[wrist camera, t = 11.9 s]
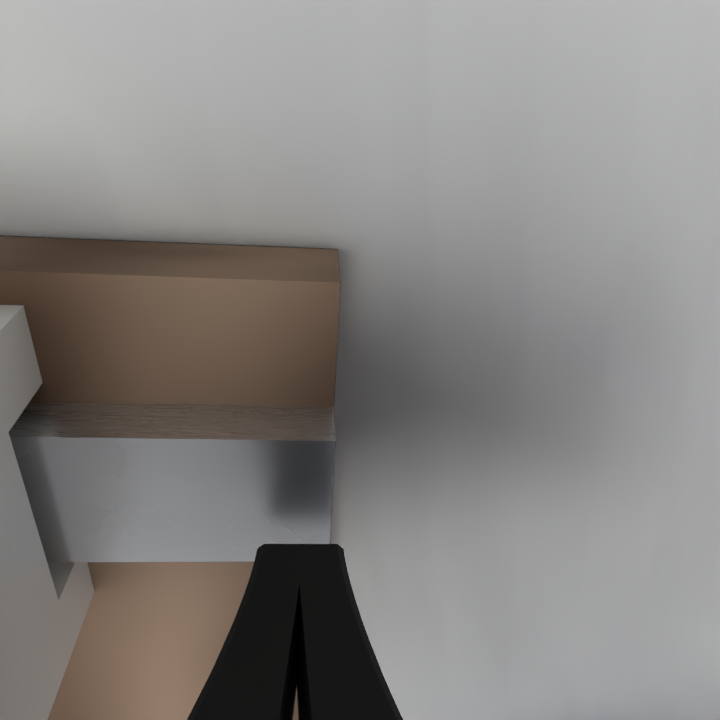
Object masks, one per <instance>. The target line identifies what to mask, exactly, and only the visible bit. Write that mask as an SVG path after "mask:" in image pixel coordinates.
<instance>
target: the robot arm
mask: <svg viewBox="0 0 720 720" xmlns="http://www.w3.org/2000/svg"><path fill="white" fill-rule="evenodd" d="M296 687H297V701H298V720H403V719H402V717H401V715H400V712H399V710H398V708H397V706H396V704H395V702H394V699H393V697H392V695H391V693H390V690H389V688H388V686H387V683H386V681H385V679H384V676H383V674H382V672H381V669H380V666H379V664H378V661H377V659H376V656H375V654H374V651H373V649H372V646H371V644H370V641H369V639H368V636H367V633H366V630H365V628H364V625H363V622H362V619H361V616H360V613H359V610H358V607H357V604H356V601H355V598H354V594H353V591H352V587H351V584H350V580H349V576H348V572H347V567H346V563H345V557H344V550H343V548H341V547H340V546H339V545H338V544H263V545H262V546H260V547H259V548H258V549H257V552H256V557H255V561H254V565H253V568H252V572H251V575H250V578H249V581H248V584H247V587H246V590H245V593H244V596H243V599H242V601H241V604H240V606H239V609H238V611H237V614H236V617H235V619H234V622H233V624H232V626H231V628H230V631H229V633H228V635H227V638H226V640H225V642H224V644H223V647H222V649H221V651H220V653H219V656H218V658H217V660H216V663H215V665H214V667H213V669H212V671H211V673H210V675H209V677H208V679H207V681H206V683H205V685H204V687H203V689H202V691H201V693H200V695H199V697H198V699H197V701H196V703H195V705H194V707H193V709H192V711H191V713H190V715H189V717H188V719H187V720H293V714H294V705H295V696H296Z"/></svg>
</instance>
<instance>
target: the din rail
mask: <svg viewBox="0 0 720 720" xmlns="http://www.w3.org/2000/svg"><path fill="white" fill-rule="evenodd" d="M9 436H10V439H11V442H12V446H13V449H14V452H15V456H16V459H17V462H18V466H19V469H20V473H21V476H22V479H23V483H24V486H25V489H26V493H27V496H28V499H29V503H30V506H31V509H32V513H33V516H34V520H35V523H36V526H37V530H38V533H39V536H40V540H41V543H42V546H43V550H44V553H45V557H46V560H47V562H254V561H255V557H256V552H257V549H258V548H259V547H260V546H262V545H263V544H330V527H331V510H332V492H333V475H334V457H335V420H334V407H311V406H254V405H197V404H140V403H82V402H29V403H28V405H27V406H26V408H25V409H24V411H23V412H22V414H21V415H20V416H19V418H18V419H17V421H16V422H15V424H14V425H13V427H12V428H11V429H10V431H9Z"/></svg>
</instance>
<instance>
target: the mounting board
mask: <svg viewBox="0 0 720 720" xmlns="http://www.w3.org/2000/svg"><path fill="white" fill-rule="evenodd" d="M340 284H341V282H340V270H339V258H338V249H313V248H288V247H263V246H238V245H212V244H187V243H162V242H137V241H112V240H86V239H61V238H36V237H11V236H0V305H23V306H24V310H25V314H26V318H27V322H28V326H29V330H30V334H31V338H32V342H33V346H34V350H35V354H36V358H37V362H38V366H39V370H40V374H41V378H42V382H43V383H42V384H41V386H40V387H39V389H38V390H37V392H36V393H35V395H34V396H33V398H32V399H31V400H30V402H82V403H140V404H197V405H254V406H311V407H334V396H335V378H336V359H337V340H338V322H339V303H340ZM87 563H88V567H89V571H90V575H91V579H92V583H93V587H94V594H93V597H92V599H91V602H90V605H89V608H88V610H87V613H86V616H85V619H84V621H83V624H82V627H81V630H80V632H79V635H78V638H77V641H76V643H75V646H74V649H73V651H72V654H71V657H70V660H69V662H68V665H67V668H66V671H65V673H64V676H63V679H62V682H61V684H60V687H59V690H58V693H57V695H56V698H55V701H54V703H53V706H52V709H51V712H50V714H49V717H48V720H187V719H188V717H189V715H190V713H191V711H192V709H193V707H194V705H195V703H196V701H197V699H198V697H199V695H200V693H201V691H202V689H203V687H204V685H205V683H206V681H207V679H208V677H209V675H210V673H211V671H212V669H213V667H214V665H215V663H216V660H217V658H218V656H219V653H220V651H221V649H222V647H223V644H224V642H225V640H226V638H227V635H228V633H229V631H230V628H231V626H232V624H233V622H234V619H235V617H236V614H237V611H238V609H239V606H240V604H241V601H242V599H243V596H244V593H245V590H246V587H247V584H248V581H249V578H250V575H251V572H252V568H253V565H254V562H87ZM293 720H298V701H297V687H296V696H295V705H294V714H293Z"/></svg>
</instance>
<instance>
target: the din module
mask: <svg viewBox="0 0 720 720" xmlns="http://www.w3.org/2000/svg"><path fill="white" fill-rule="evenodd" d="M42 383H43V382H42V378H41V374H40V370H39V366H38V362H37V358H36V354H35V350H34V346H33V342H32V338H31V334H30V330H29V326H28V322H27V318H26V314H25V310H24V306H23V305H0V720H48V717H49V714H50V712H51V709H52V706H53V703H54V701H55V698H56V695H57V693H58V690H59V687H60V684H61V682H62V679H63V676H64V673H65V671H66V668H67V665H68V662H69V660H70V657H71V654H72V651H73V649H74V646H75V643H76V641H77V638H78V635H79V632H80V630H81V627H82V624H83V621H84V619H85V616H86V613H87V610H88V608H89V605H90V602H91V599H92V597H93V594H94V587H93V583H92V579H91V575H90V571H89V567H88V563H87V562H47V560H46V557H45V553H44V550H43V546H42V543H41V540H40V536H39V533H38V530H37V526H36V523H35V520H34V516H33V513H32V509H31V506H30V503H29V499H28V496H27V493H26V489H25V486H24V483H23V479H22V476H21V473H20V469H19V466H18V462H17V459H16V456H15V452H14V449H13V446H12V442H11V439H10V436H9V431H10V429H11V428H12V427H13V425H14V424H15V422H16V421H17V419H18V418H19V416H20V415H21V414H22V412H23V411H24V409H25V408H26V406H27V405H28V403H29V402H30V400H31V399H32V398H33V396H34V395H35V393H36V392H37V390H38V389H39V387H40V386H41V384H42Z"/></svg>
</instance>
